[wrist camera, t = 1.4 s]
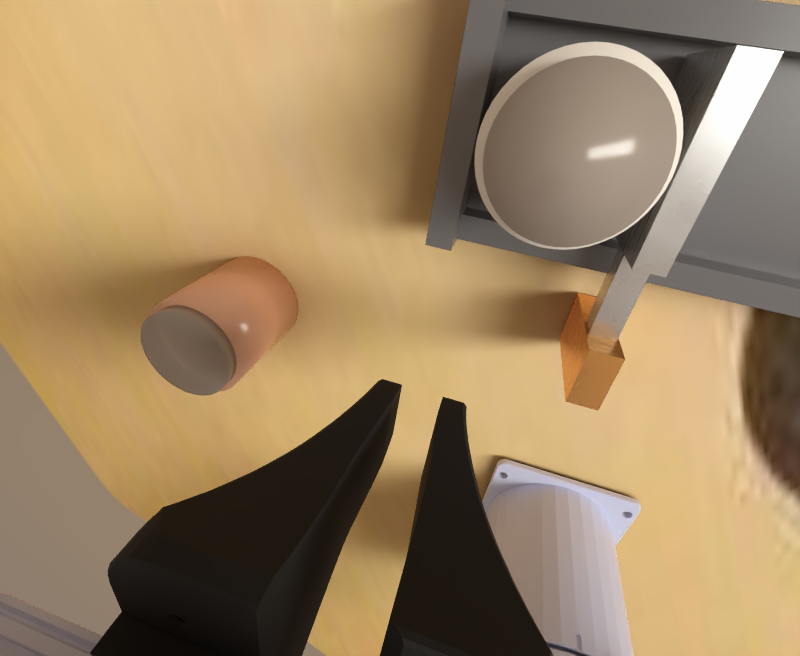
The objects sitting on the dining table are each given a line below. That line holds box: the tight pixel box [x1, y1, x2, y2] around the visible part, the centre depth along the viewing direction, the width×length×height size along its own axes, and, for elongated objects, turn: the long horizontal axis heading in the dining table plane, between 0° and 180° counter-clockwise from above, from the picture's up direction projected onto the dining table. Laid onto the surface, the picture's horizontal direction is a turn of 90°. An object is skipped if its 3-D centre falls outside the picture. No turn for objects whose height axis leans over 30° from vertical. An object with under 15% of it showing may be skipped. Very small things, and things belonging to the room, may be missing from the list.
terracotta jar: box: [141, 257, 298, 395], centre depth 22 cm, size 5×5×6 cm
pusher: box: [560, 45, 784, 410], centre depth 15 cm, size 11×1×5 cm, turn 172°
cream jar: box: [474, 42, 683, 250], centre depth 13 cm, size 5×5×6 cm
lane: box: [425, 0, 800, 318], centre depth 14 cm, size 8×18×4 cm, turn 82°
